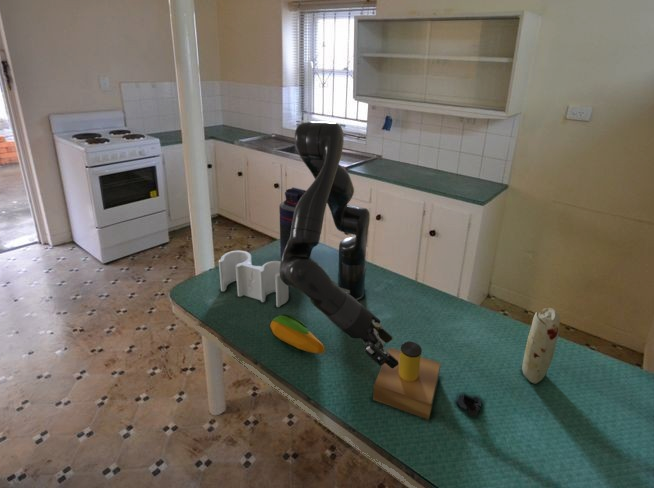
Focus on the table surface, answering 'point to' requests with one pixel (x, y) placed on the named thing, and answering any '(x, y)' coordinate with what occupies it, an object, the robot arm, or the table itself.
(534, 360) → the food model
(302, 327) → the corn
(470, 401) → the block figure
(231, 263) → the bracket
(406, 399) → the wood block
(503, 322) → the table surface
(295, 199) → the navy water bottle
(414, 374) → the tin
